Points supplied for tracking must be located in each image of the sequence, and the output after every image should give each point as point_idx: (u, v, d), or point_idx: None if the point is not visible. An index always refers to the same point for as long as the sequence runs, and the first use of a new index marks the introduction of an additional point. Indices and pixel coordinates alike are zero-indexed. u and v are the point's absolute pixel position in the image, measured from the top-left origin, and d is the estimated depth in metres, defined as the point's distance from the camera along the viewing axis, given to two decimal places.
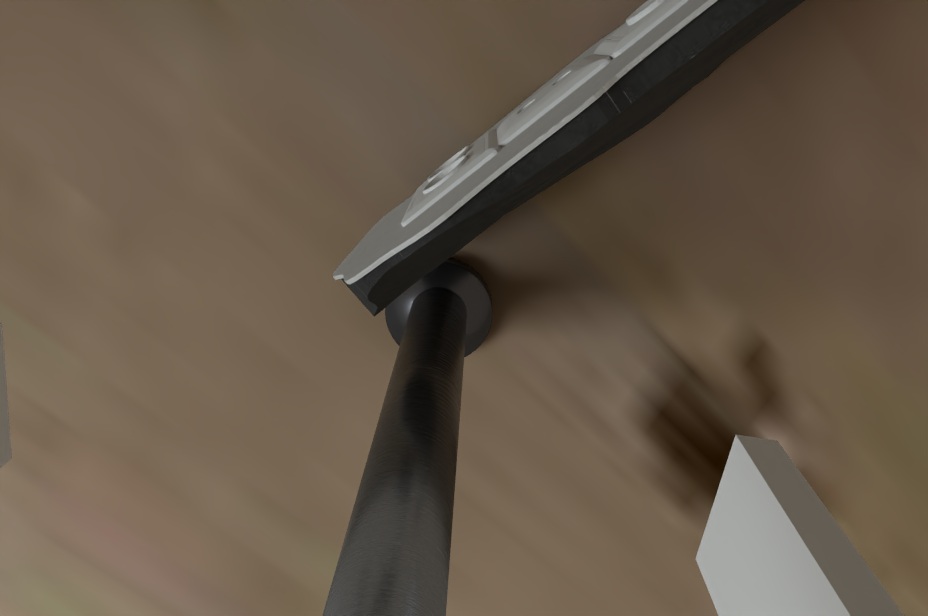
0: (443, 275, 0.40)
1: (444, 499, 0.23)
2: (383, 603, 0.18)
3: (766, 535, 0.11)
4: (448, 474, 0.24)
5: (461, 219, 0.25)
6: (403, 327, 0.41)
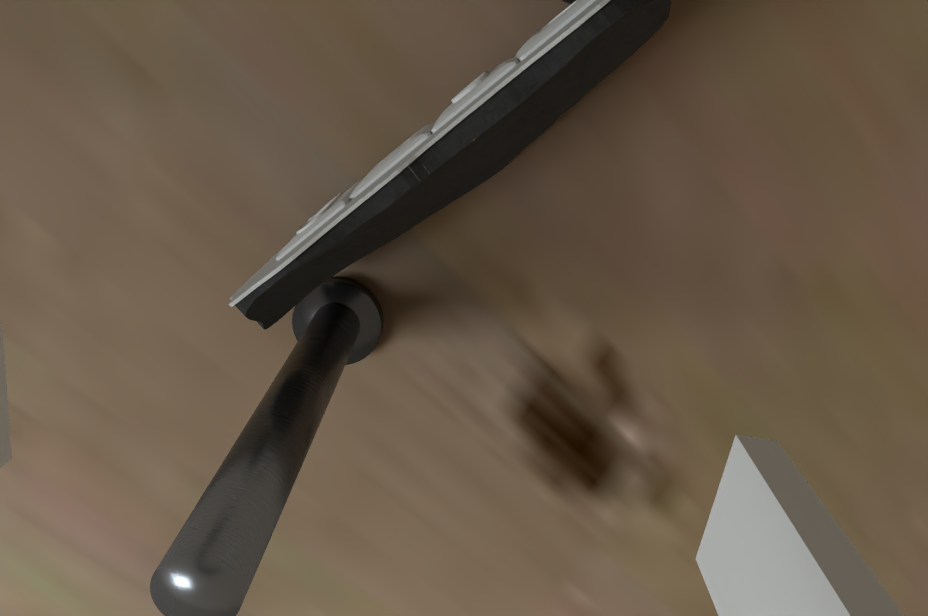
0: (338, 293, 0.48)
1: (282, 469, 0.31)
2: (207, 534, 0.26)
3: (766, 535, 0.11)
4: (292, 451, 0.33)
5: (305, 260, 0.34)
6: None
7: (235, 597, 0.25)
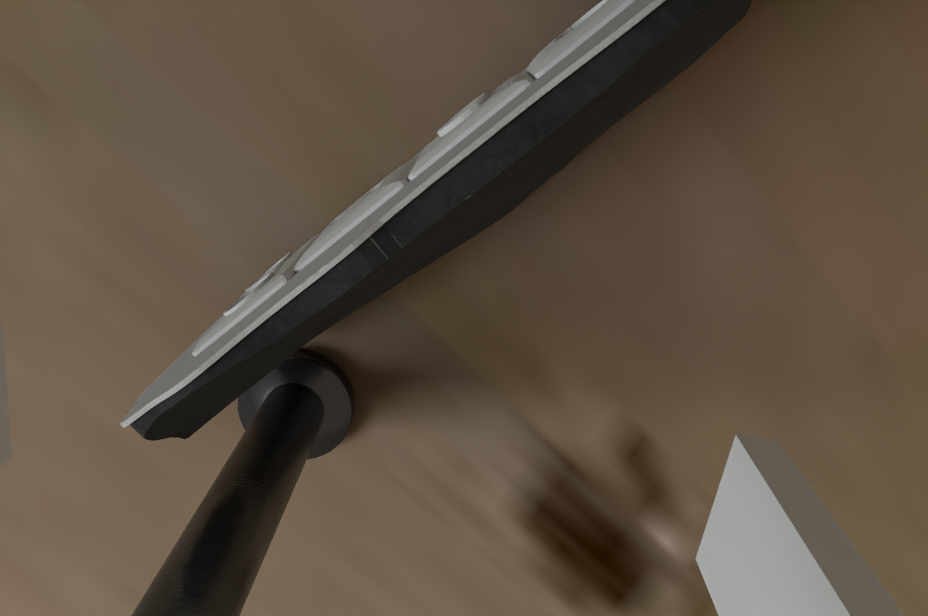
0: (296, 371, 0.38)
1: None
2: None
3: (765, 535, 0.11)
4: None
5: (220, 372, 0.23)
6: None
7: None
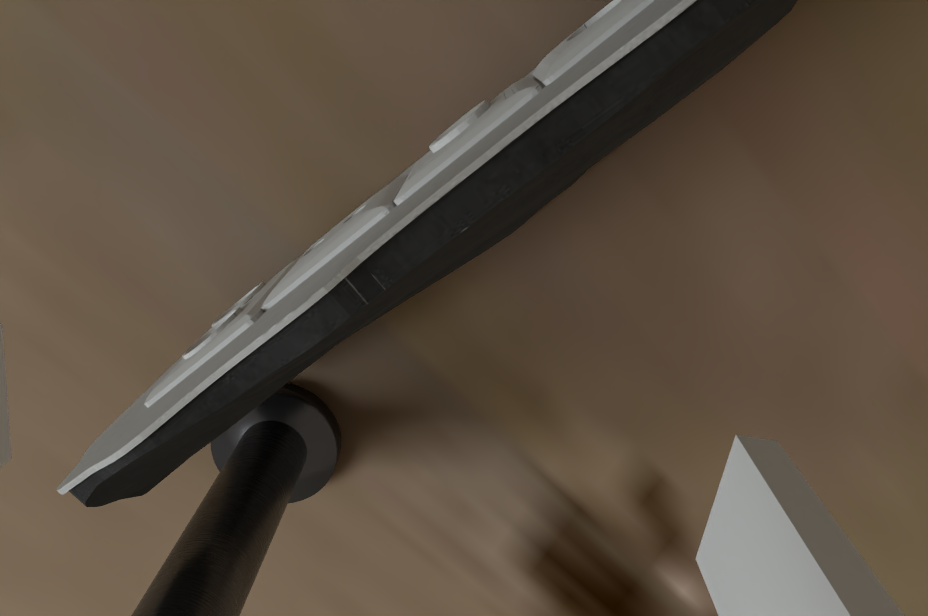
0: (275, 407, 0.34)
1: None
2: None
3: (765, 535, 0.11)
4: None
5: (168, 437, 0.19)
6: None
7: None
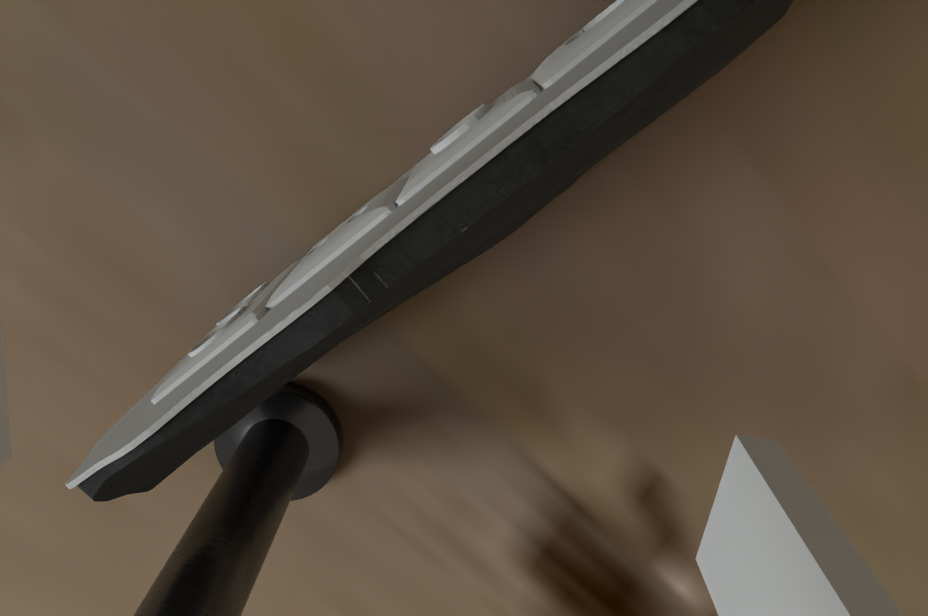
0: (278, 406, 0.34)
1: None
2: None
3: (766, 535, 0.11)
4: None
5: (175, 432, 0.20)
6: None
7: None
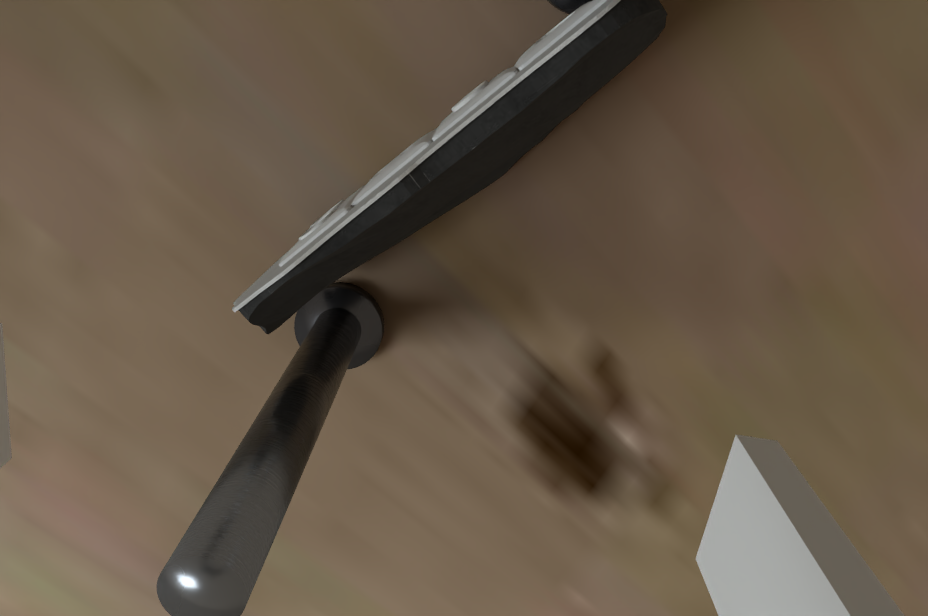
0: (340, 298, 0.49)
1: (285, 471, 0.32)
2: (213, 535, 0.27)
3: (765, 535, 0.11)
4: (295, 454, 0.33)
5: (308, 266, 0.34)
6: None
7: (240, 597, 0.26)
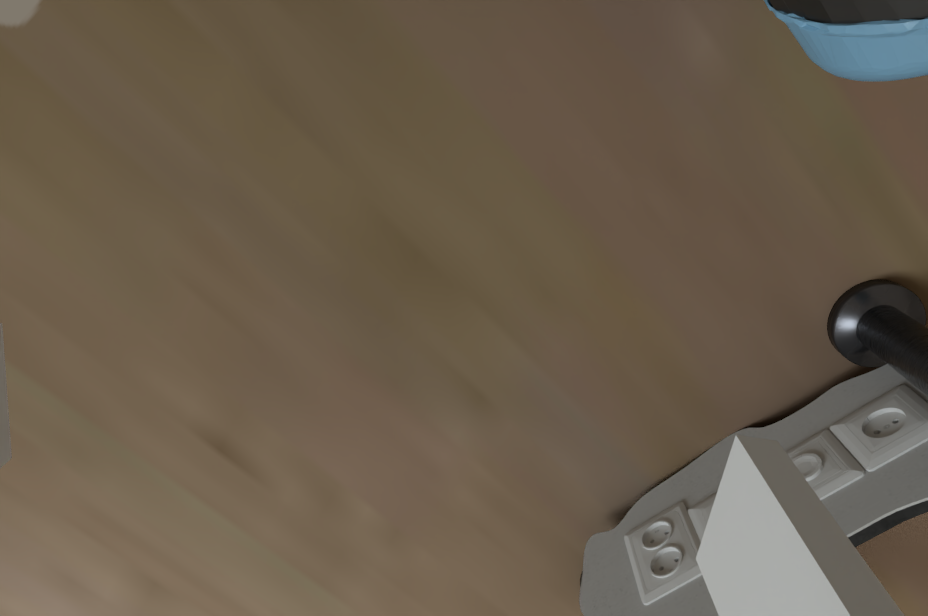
0: None
1: None
2: None
3: (765, 535, 0.11)
4: None
5: None
6: None
7: None
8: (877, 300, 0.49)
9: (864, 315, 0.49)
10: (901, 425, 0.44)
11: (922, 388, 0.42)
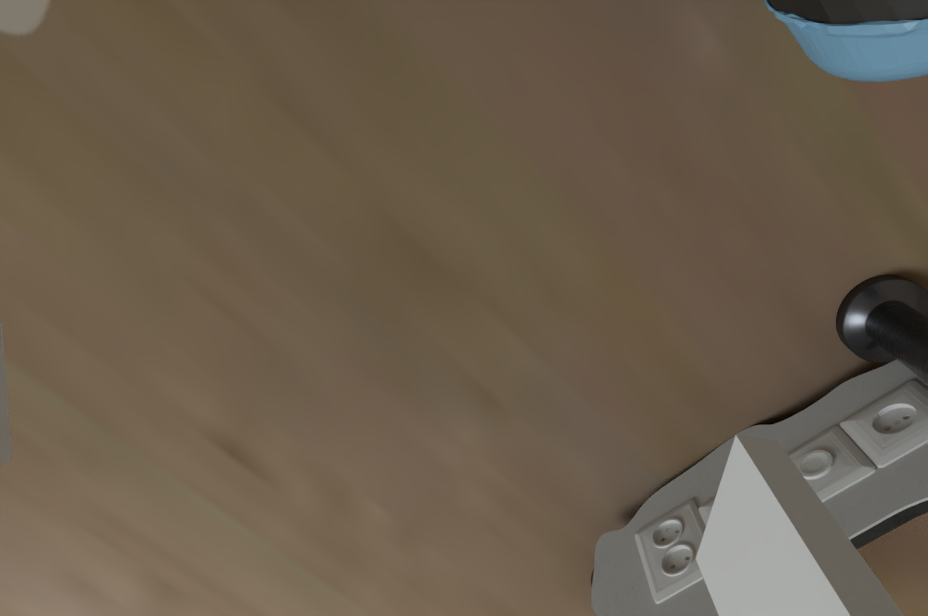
0: None
1: None
2: None
3: (765, 534, 0.11)
4: None
5: None
6: None
7: None
8: (886, 295, 0.49)
9: (873, 311, 0.49)
10: (912, 421, 0.44)
11: None
